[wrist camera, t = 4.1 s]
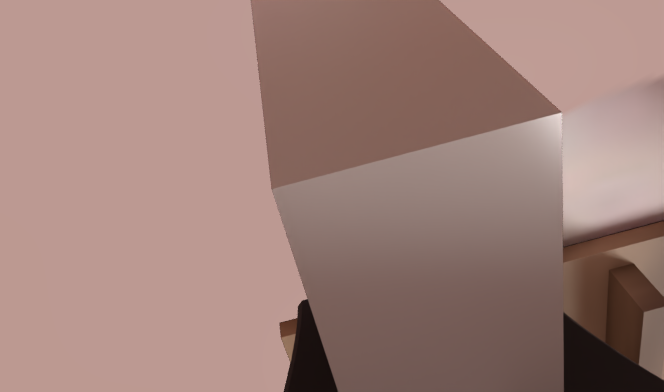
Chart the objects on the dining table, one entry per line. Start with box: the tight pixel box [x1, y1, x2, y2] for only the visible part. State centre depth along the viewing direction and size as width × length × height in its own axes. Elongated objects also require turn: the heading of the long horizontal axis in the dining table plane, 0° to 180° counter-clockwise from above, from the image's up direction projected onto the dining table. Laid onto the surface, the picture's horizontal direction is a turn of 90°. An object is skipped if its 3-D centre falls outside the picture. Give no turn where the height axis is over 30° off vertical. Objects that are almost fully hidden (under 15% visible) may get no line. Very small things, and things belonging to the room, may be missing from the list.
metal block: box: [251, 0, 564, 392], centre depth 11 cm, size 2×12×7 cm, turn 12°
